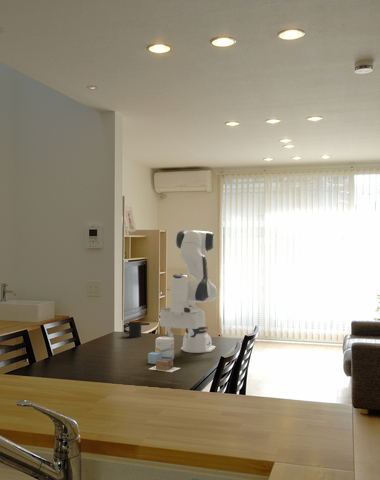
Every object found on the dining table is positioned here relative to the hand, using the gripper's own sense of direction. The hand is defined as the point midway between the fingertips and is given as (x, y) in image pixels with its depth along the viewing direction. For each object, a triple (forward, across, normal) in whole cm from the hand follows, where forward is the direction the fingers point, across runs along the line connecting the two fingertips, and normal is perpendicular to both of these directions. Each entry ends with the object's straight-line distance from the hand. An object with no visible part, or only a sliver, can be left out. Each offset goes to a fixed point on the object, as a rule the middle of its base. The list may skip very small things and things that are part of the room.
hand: (179, 337), depth 230 cm
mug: (+15, -77, +74) cm, 108 cm away
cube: (+15, -19, +9) cm, 26 cm away
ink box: (+16, -19, +19) cm, 31 cm away
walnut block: (+15, -8, 0) cm, 17 cm away
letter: (+16, -8, 0) cm, 18 cm away
